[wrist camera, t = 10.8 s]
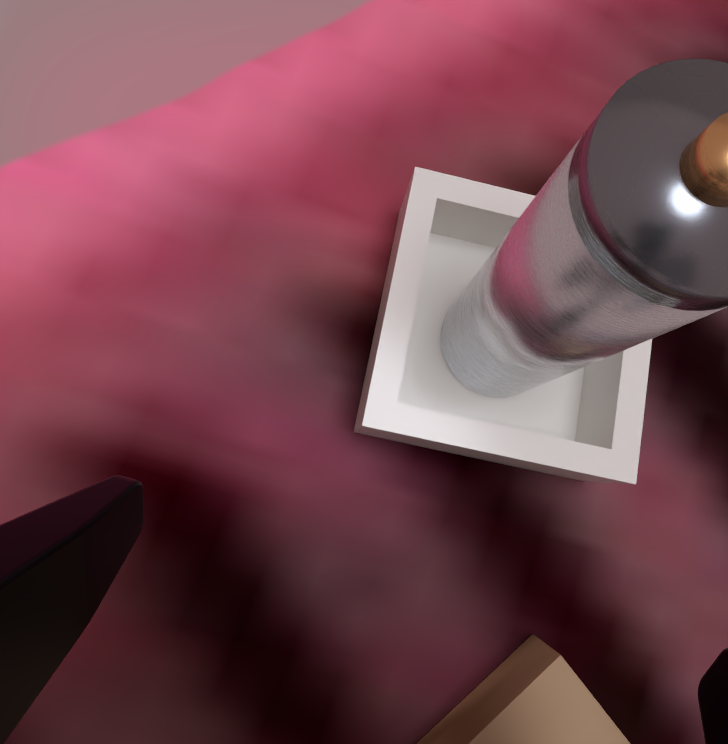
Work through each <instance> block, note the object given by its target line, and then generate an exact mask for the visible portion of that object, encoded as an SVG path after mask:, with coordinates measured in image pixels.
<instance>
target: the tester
mask: <svg viewBox="0 0 728 744" xmlns="http://www.w3.org/2000/svg"><path fill="white" fill-rule="evenodd" d="M416 744H630V743H629V742H628V740H627V739H626V738H625V736H624V735H623V734H622V733H621V731H620V730H619V729H618V727H617V726H616V725H615V724H614V722H613V721H612V720H611V719H610V717H609V716H608V715H607V713H606V712H605V711H604V710H603V708H602V707H601V706H600V705H599V703H598V702H597V701H596V699H595V698H594V697H593V696H592V694H591V693H590V692H589V691H588V689H587V688H586V687H585V685H584V684H583V683H582V682H581V680H580V679H579V678H578V676H577V675H576V674H575V673H574V671H573V670H572V669H571V668H570V666H569V665H568V664H567V662H566V661H565V660H564V659H563V657H562V656H561V655H560V654H559V653H557V652H556V651H555V650H553V649H552V648H551V647H549V646H548V645H547V644H545V643H544V642H543V641H541V640H540V639H539V638H537V637H536V636H535V635H533V634H532V635H531V636H530V637H529V638H528V639H527V640H526V641H525V642H524V643H523V644H522V645H521V646H520V647H518V648H517V649H516V650H515V651H514V652H513V653H512V654H511V655H510V656H509V657H508V658H507V659H506V660H505V661H504V662H503V663H501V664H500V665H499V666H498V667H497V668H496V669H495V670H494V671H493V672H492V673H491V674H490V675H489V676H488V677H487V678H486V679H484V680H483V681H482V682H481V683H480V684H479V685H478V686H477V687H476V688H475V689H474V690H473V691H472V692H471V693H470V694H469V695H467V696H466V697H465V698H464V699H463V700H462V701H461V702H460V703H459V704H458V705H457V706H456V707H455V708H454V709H453V710H452V711H450V712H449V713H448V714H447V715H446V716H445V717H444V718H443V719H442V720H441V721H440V722H439V723H438V724H437V725H436V726H435V727H433V728H432V729H431V730H430V731H429V732H428V733H427V734H426V735H425V736H424V737H423V738H422V739H421V740H420V741H419V742H418V743H416Z"/></svg>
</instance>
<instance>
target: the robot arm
mask: <svg viewBox="0 0 728 744" xmlns="http://www.w3.org/2000/svg"><path fill="white" fill-rule="evenodd" d="M143 499H144V490H143V485H142V483H141V482H140V481H138V480H135V479H131V478H128V477H124V476H120V475H116V476H112V477H110V478H107V479H105V480H103V481H100V482H98V483H96V484H94V485H91V486H89V487H87V488H84V489H82V490H80V491H77V492H75V493H73V494H70V495H68V496H66V497H64V498H61V499H59V500H57V501H54V502H52V503H50V504H47V505H45V506H43V507H40V508H38V509H36V510H34V511H31V512H29V513H27V514H24V515H22V516H20V517H17V518H15V519H13V520H10V521H8V522H6V523H4V524H1V525H0V744H4V742H5V741H6V740H7V738H8V737H9V735H10V734H11V732H12V731H13V730H14V728H15V727H16V725H17V724H18V723H19V721H20V720H21V718H22V717H23V716H24V714H25V713H26V711H27V710H28V709H29V707H30V706H31V704H32V703H33V701H34V700H35V699H36V697H37V696H38V694H39V693H40V692H41V690H42V689H43V687H44V686H45V685H46V683H47V682H48V680H49V679H50V678H51V676H52V675H53V673H54V672H55V670H56V669H57V668H58V666H59V665H60V663H61V662H62V661H63V659H64V658H65V656H66V655H67V654H68V652H69V651H70V649H71V648H72V646H73V645H74V644H75V642H76V641H77V639H78V638H79V637H80V635H81V634H82V632H83V631H84V629H85V628H86V626H87V625H88V623H89V622H90V620H91V618H92V617H93V615H94V613H95V612H96V610H97V608H98V606H99V605H100V603H101V601H102V599H103V598H104V596H105V594H106V592H107V591H108V589H109V587H110V585H111V583H112V582H113V580H114V578H115V576H116V575H117V573H118V571H119V569H120V568H121V566H122V564H123V562H124V561H125V559H126V557H127V555H128V553H129V552H130V550H131V548H132V546H133V545H134V543H135V541H136V539H137V538H138V536H139V534H140V531H141V529H142V525H143ZM698 700H699V707H700V713H701V719H702V725H703V732H704V738H705V744H728V648H727V649H724V650H723V651H722V652H721V653H720V655H719V656H718V657H717V659H716V660H715V661H714V663H713V664H712V665H711V667H710V668H709V669H708V671H707V672H706V673H705V674H704V676H703V677H702V679H701V681H700V683H699V687H698Z"/></svg>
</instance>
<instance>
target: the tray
mask: <svg viewBox="0 0 728 744" xmlns="http://www.w3.org/2000/svg"><path fill="white" fill-rule="evenodd" d="M535 197H536V196H533V195H529V194H525V193H521V192H517V191H513V190H509V189H505V188H501V187H496V186H492V185H488V184H484V183H480V182H476V181H472V180H468V179H464V178H460V177H455V176H451V175H447V174H443V173H439V172H435V171H431V170H427V169H423V168H419V167H415V169H414V172H413V175H412V177H411V180H410V183H409V186H408V189H407V192H406V194H405V197H404V200H403V203H402V206H401V209H400V212H399V216H398V221H397V226H396V231H395V236H394V240H393V245H392V250H391V255H390V260H389V264H388V269H387V274H386V279H385V284H384V288H383V293H382V298H381V303H380V308H379V312H378V317H377V322H376V327H375V332H374V336H373V341H372V346H371V351H370V356H369V360H368V365H367V370H366V375H365V380H364V384H363V389H362V394H361V399H360V404H359V408H358V413H357V418H356V423H355V428H354V432H355V433H360V434H364V435H369V436H374V437H379V438H383V439H388V440H393V441H397V442H402V443H407V444H411V445H416V446H421V447H425V448H430V449H435V450H439V451H444V452H449V453H453V454H458V455H463V456H467V457H472V458H477V459H482V460H486V461H491V462H496V463H500V464H505V465H510V466H514V467H519V468H524V469H528V470H533V471H538V472H542V473H547V474H552V475H556V476H561V477H566V478H570V479H575V480H580V481H585V482H602V483H620V484H636V480H637V471H638V462H639V453H640V444H641V435H642V426H643V416H644V407H645V398H646V389H647V380H648V371H649V362H650V353H651V344H652V339H650V340H647V341H645V342H643V343H640V344H638V345H635V346H633V347H631V348H628V349H626V350H623V351H621V352H619V353H616V354H614V355H611V356H609V357H607V358H604V359H602V360H600V361H597V362H595V363H592V364H590V365H588V366H585V367H583V368H580V369H578V370H576V371H573V372H571V373H568V374H566V375H564V376H561V377H559V378H556V379H554V380H552V381H549V382H547V383H545V384H542V385H540V386H537V387H535V388H533V389H530V390H528V391H525V392H523V393H521V394H518V395H515V396H511V397H503V398H502V397H489V396H485V395H482V394H479V393H477V392H474V391H472V390H471V389H469V388H467V387H466V386H465V385H463V384H462V383H461V382H460V381H459V380H458V379H457V378H456V377H455V376H454V375H453V373H452V372H451V371H450V369H449V368H448V366H447V364H446V362H445V360H444V357H443V354H442V350H441V344H440V334H441V327H442V323H443V320H444V317H445V315H446V313H447V311H448V310H449V308H450V307H451V306H452V304H453V303H454V302H455V300H456V299H457V298H458V297H459V295H460V294H461V293H462V291H463V290H464V289H465V287H466V286H467V285H468V284H469V282H470V281H471V280H472V278H473V277H474V276H475V274H476V273H477V272H478V271H479V269H480V268H481V267H482V265H483V264H484V263H485V261H486V260H487V259H488V258H489V256H490V255H491V254H492V252H493V251H494V250H495V248H496V247H497V246H498V245H499V243H500V242H501V241H502V239H503V238H504V237H505V235H506V234H507V233H508V232H509V230H510V229H511V228H512V226H513V225H514V224H515V223H516V221H517V220H518V219H519V217H520V216H521V215H522V213H523V212H524V211H525V210H526V208H527V207H528V206H529V204H530V203H531V202H532V200H533V199H534V198H535Z"/></svg>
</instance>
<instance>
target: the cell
mask: <svg viewBox="0 0 728 744" xmlns="http://www.w3.org/2000/svg"><path fill="white" fill-rule="evenodd" d="M726 307H728V63H725V62H720V61H715V60H708V59H680V60H674V61H669V62H664V63H661V64H658V65H655V66H652V67H650V68H648V69H646V70H644V71H642V72H640V73H638V74H637V75H635V76H634V77H632V78H631V79H630V80H628V81H627V82H626V83H625V84H624V85H623V86H621V87H620V88H619V89H618V90H617V91H616V93H615V94H614V95H613V97H612V98H611V99H610V100H609V102H608V103H607V104H606V106H605V107H604V108H603V109H602V111H601V112H600V113H599V115H598V116H597V117H596V119H595V120H594V121H593V122H592V124H591V125H590V126H589V128H588V129H587V130H586V132H585V133H584V134H583V135H582V137H581V138H580V139H579V141H578V142H577V143H576V145H575V146H574V147H573V148H572V150H571V151H570V152H569V154H568V155H567V156H566V158H565V159H564V160H563V161H562V163H561V164H560V165H559V167H558V168H557V169H556V171H555V172H554V173H553V174H552V176H551V177H550V178H549V180H548V181H547V182H546V184H545V185H544V186H543V187H542V189H541V190H540V191H539V193H538V194H537V195H536V197H535V198H534V199H533V200H532V202H531V203H530V204H529V206H528V207H527V208H526V210H525V211H524V212H523V213H522V215H521V216H520V217H519V219H518V220H517V221H516V223H515V224H514V225H513V226H512V228H511V229H510V230H509V232H508V233H507V234H506V235H505V237H504V238H503V239H502V241H501V242H500V243H499V245H498V246H497V247H496V248H495V250H494V251H493V252H492V254H491V255H490V256H489V258H488V259H487V260H486V261H485V263H484V264H483V265H482V267H481V268H480V269H479V271H478V272H477V273H476V274H475V276H474V277H473V278H472V280H471V281H470V282H469V284H468V285H467V286H466V287H465V289H464V290H463V291H462V293H461V294H460V295H459V297H458V298H457V299H456V300H455V302H454V303H453V304H452V306H451V307H450V308H449V310H448V311H447V313H446V315H445V317H444V320H443V323H442V327H441V334H440V344H441V350H442V354H443V357H444V360H445V362H446V364H447V366H448V368H449V369H450V371H451V372H452V373H453V375H454V376H455V377H456V378H457V379H458V380H459V381H460V382H461V383H462V384H463V385H465V386H466V387H467V388H469V389H471V390H472V391H474V392H477V393H479V394H482V395H485V396H489V397H502V398H503V397H511V396H515V395H518V394H521V393H523V392H525V391H528V390H530V389H533V388H535V387H537V386H540V385H542V384H545V383H547V382H549V381H552V380H554V379H556V378H559V377H561V376H564V375H566V374H568V373H571V372H573V371H576V370H578V369H580V368H583V367H585V366H588V365H590V364H592V363H595V362H597V361H600V360H602V359H604V358H607V357H609V356H611V355H614V354H616V353H619V352H621V351H623V350H626V349H628V348H631V347H633V346H635V345H638V344H640V343H643V342H645V341H647V340H650V339H652V338H655V337H657V336H659V335H662V334H664V333H666V332H669V331H671V330H674V329H676V328H678V327H681V326H683V325H686V324H688V323H690V322H693V321H695V320H698V319H700V318H702V317H705V316H707V315H710V314H712V313H714V312H717V311H719V310H721V309H724V308H726Z"/></svg>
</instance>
